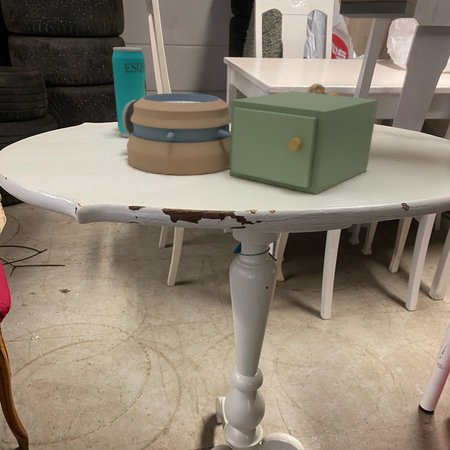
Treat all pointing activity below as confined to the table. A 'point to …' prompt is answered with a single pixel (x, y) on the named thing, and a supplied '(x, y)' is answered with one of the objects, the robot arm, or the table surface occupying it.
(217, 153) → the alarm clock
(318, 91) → the lion figurine
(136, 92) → the beverage can
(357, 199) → the table surface
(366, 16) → the brush
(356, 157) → the cabinet
